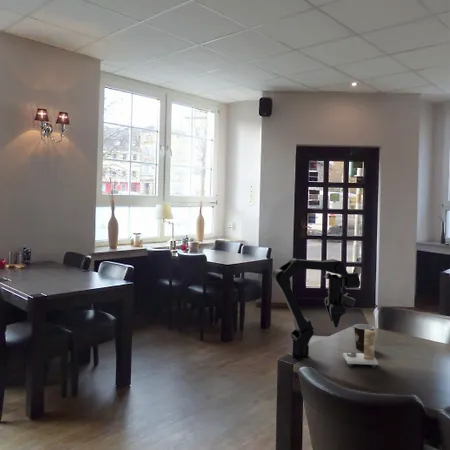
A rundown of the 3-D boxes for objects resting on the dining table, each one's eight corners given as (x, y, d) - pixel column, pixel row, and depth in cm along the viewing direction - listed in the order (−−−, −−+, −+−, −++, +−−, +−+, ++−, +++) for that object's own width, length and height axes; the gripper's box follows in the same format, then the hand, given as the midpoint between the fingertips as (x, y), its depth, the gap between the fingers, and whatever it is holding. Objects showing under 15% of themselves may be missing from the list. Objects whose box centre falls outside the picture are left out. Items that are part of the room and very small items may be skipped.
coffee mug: (374, 352, 200) (375, 330, 200) (354, 350, 202) (354, 328, 201) (371, 344, 211) (372, 323, 211) (352, 342, 213) (353, 321, 213)
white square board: (347, 367, 182) (347, 361, 181) (342, 358, 192) (343, 352, 191) (378, 368, 181) (378, 362, 181) (371, 359, 191) (372, 353, 191)
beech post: (363, 358, 184) (364, 332, 184) (363, 355, 188) (364, 329, 188) (374, 359, 183) (374, 333, 183) (374, 356, 187) (374, 330, 186)
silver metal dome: (348, 356, 187) (348, 354, 187) (346, 353, 190) (346, 351, 190) (357, 357, 186) (357, 355, 186) (355, 354, 190) (355, 352, 190)
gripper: (358, 293, 186) (357, 331, 187) (349, 285, 205) (348, 319, 206) (331, 293, 187) (330, 330, 188) (324, 284, 206) (323, 318, 207)
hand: (334, 324), depth 197 cm, fingers open, 9 cm apart
